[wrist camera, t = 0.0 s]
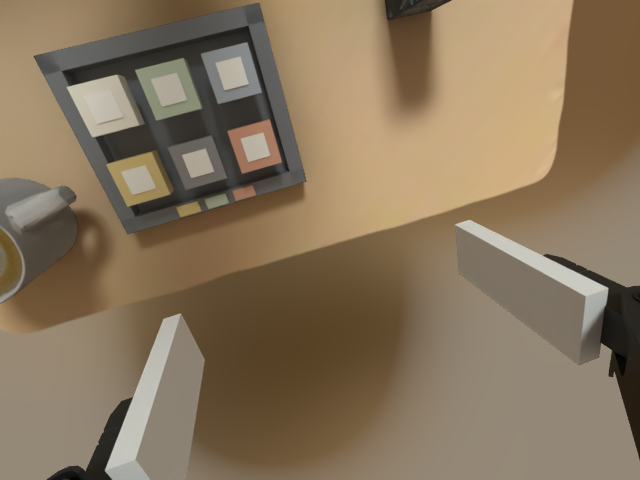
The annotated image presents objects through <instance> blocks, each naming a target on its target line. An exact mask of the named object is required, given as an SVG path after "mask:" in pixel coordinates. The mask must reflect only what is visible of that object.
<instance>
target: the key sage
mask: <svg viewBox="0 0 640 480" xmlns="http://www.w3.org/2000/svg"><path fill="white" fill-rule="evenodd" d="M135 71H136V74H137V76H138V79H139V81H140V83H141V86H142V88H143V90H144V93H145V95H146V97H147V100H148V102H149V104H150V107H151V109H152V112H153V114H154V116H155V119H156V120H163V119H166V118H170V117H174V116H178V115H182V114H185V113H189V112H193V111H197V110H200V109H204V107H203V104H202V101H201V99H200V96H199V93H198V90H197V88H196V85H195V82H194V79H193V76H192V74H191V71H190V68H189V65H188V63H187V61H186V60H185V59H184V58H182V59H178V60H174V61H170V62H166V63H162V64H158V65H153V66H149V67H145V68H141V69H137V70H135Z"/></svg>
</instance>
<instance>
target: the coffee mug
mask: <svg viewBox="0 0 640 480" xmlns="http://www.w3.org/2000/svg"><path fill="white" fill-rule="evenodd" d="M75 201H76V195H75V193H74V192H73V191H72V190H71V189H70V188H69V187H67V186H59V187H56V188H54V189H50V188H48V187H47V186H45V185H43V184H40V183H38V182H35V181H31V180H27V179H21V178H5V179H0V304H1V303H3V302H5V301H6V300H8V299H10V298H11V297H13V296H14V295H15V294H16V293H18V292H19V291H20V290H21V289H23V288H24V287H25V286H26V285H28V284H29V283H30V282H31V281H33V280H34V279H35V278H36V277H37V276H39V275H40V274H41V273H42V272H44V271H45V270H46V269H47V268H49V267H50V266H51V265H52V264H54V263H55V262H56V261H57V260H59V259H60V258H61V257H62V256H64V255H65V254H66V253H67V252H68V251H69V250H70V249H71V248H72V246H73V245H74V243H75V241H76V237H77V232H78V227H77V221H76V217H75V215H74V213H73V211H72V209H71V208H70V206H69V205H70V204H72V203H73V202H75Z"/></svg>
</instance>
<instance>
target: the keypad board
mask: <svg viewBox="0 0 640 480" xmlns="http://www.w3.org/2000/svg"><path fill="white" fill-rule="evenodd" d="M246 42H247V43H248V46H249V50H250V53H251V57H252V60H253V64H254V67H255V70H256V74H257V77H258V81H259V84H260V88H261V91H262V93H261V94H257V95H253V96H249V97H246V98H242V99H238V100H234V101H231V102H227V103H223V104H218V103H217V100H216V97H215V94H214V91H213V88H212V85H211V82H210V79H209V76H208V74H207V71H206V68H205V65H204V62H203V59H202V56H201V54H202V53H206V52H210V51H214V50H218V49H222V48H226V47H230V46H234V45H238V44H242V43H246ZM34 58H35V60H36V62H37V64H38V66H39V68H40V69H41V71H42V73H43V75H44V77H45V79H46V81H47V83H48V85H49V86H50V88H51V90H52V92H53V94H54V96H55V98H56V100H57V102H58V104H59V105H60V107H61V109H62V111H63V113H64V115H65V117H66V119H67V121H68V122H69V124H70V126H71V128H72V130H73V132H74V134H75V136H76V138H77V139H78V141H79V143H80V145H81V147H82V149H83V151H84V153H85V155H86V157H87V158H88V160H89V162H90V164H91V166H92V168H93V170H94V172H95V174H96V175H97V177H98V179H99V181H100V183H101V185H102V187H103V189H104V191H105V192H106V194H107V196H108V198H109V200H110V202H111V204H112V206H113V208H114V210H115V211H116V213H117V215H118V217H119V219H120V221H121V223H122V225H123V227H124V228H125V230H126V232H127V234H130V233H134V232H137V231H141V230H144V229H147V228H151V227H154V226H157V225H161V224H164V223H168V222H171V221H174V220H178V219H181V218H184V217H188V216H191V215H195V214H198V213H201V212H205V211H208V210H211V209H215V208H218V207H222V206H225V205H228V204H232V203H235V202H238V201H242V200H245V199H249V198H252V197H255V196H259V195H262V194H265V193H269V192H272V191H276V190H279V189H282V188H286V187H289V186H292V185H296V184H299V183H303V182H306V177H305V173H304V169H303V166H302V162H301V158H300V154H299V151H298V147H297V143H296V139H295V136H294V132H293V128H292V124H291V120H290V117H289V113H288V109H287V105H286V102H285V98H284V94H283V90H282V87H281V83H280V79H279V75H278V72H277V68H276V64H275V60H274V56H273V53H272V49H271V45H270V41H269V38H268V34H267V30H266V26H265V23H264V19H263V15H262V11H261V8H260V4H259V3H255V4H251V5H246V6H242V7H238V8H234V9H229V10H225V11H221V12H217V13H213V14H208V15H204V16H200V17H196V18H192V19H187V20H183V21H179V22H175V23H170V24H166V25H162V26H158V27H154V28H149V29H145V30H141V31H137V32H133V33H128V34H124V35H120V36H116V37H111V38H107V39H103V40H99V41H95V42H90V43H86V44H82V45H78V46H73V47H69V48H65V49H61V50H57V51H52V52H48V53H44V54H40V55H36V56H34ZM182 58H184V59H185V60H186V61H187V63H188V65H189V68H190V71H191V74H192V76H193V79H194V82H195V85H196V88H197V90H198V93H199V96H200V99H201V101H202V104H203V107H204V109H200V110H197V111H193V112H189V113H185V114H182V115H178V116H174V117H170V118H166V119H163V120H156V119H155V116H154V114H153V112H152V109H151V107H150V104H149V102H148V100H147V97H146V95H145V93H144V90H143V88H142V86H141V83H140V81H139V79H138V76H137V74H136V71H135V70H137V69H141V68H145V67H149V66H153V65H158V64H162V63H166V62H170V61H174V60H178V59H182ZM113 75H120V76H124V77H125V79H126V81H127V84H128V86H129V88H130V91H131V93H132V95H133V97H134V100H135V102H136V104H137V107H138V109H139V111H140V113H141V116H142V118H143V120H144V123H145V124H144V125H140V126H136V127H133V128H129V129H125V130H121V131H117V132H114V133H110V134H106V135H102V136H98V137H92V136H91V134H90V132H89V130H88V128H87V126H86V124H85V122H84V120H83V118H82V116H81V115H80V113H79V111H78V109H77V107H76V105H75V103H74V101H73V99H72V97H71V95H70V93H69V91H68V89H67V87H69V86H73V85H77V84H81V83H85V82H89V81H93V80H97V79H101V78H105V77H109V76H113ZM268 119H269V120H270V122H271V126H272V129H273V133H274V136H275V139H276V143H277V146H278V150H279V153H280V157H281V160H282V162H281V163H278V164H274V165H271V166H267V167H264V168H260V169H257V170H254V171H250V172H247V173H243V174H242V172H241V169H240V166H239V164H238V161H237V158H236V155H235V152H234V149H233V146H232V143H231V140H230V137H229V135H228V132H227V131H228V130H231V129H235V128H238V127H242V126H246V125H249V124H253V123H257V122H260V121H264V120H268ZM213 134H214V137H215V140H216V143H217V146H218V148H219V151H220V154H221V157H222V159H223V162H224V165H225V168H226V170H227V173H228V177H227V178H226V179H222V180H219V181H215V182H212V183H208V184H205V185H201V186H198V187H195V188H191V189H188V190H186V189H185V187H184V185H183V182H182V180H181V178H180V175H179V173H178V171H177V168H176V166H175V163H174V161H173V159H172V156H171V154H170V152H169V149H168V147H170V146H173V145H176V144H180V143H184V142H187V141H191V140H195V139H198V138H202V137H206V136H209V135H213ZM154 150H157V152H158V154H159V157H160V159H161V161H162V164H163V166H164V168H165V170H166V173H167V175H168V177H169V180H170V182H171V184H172V186H173V189H174V191H173V192H172V193H171V194H170V195H167V196H163V197H160V198H156V199H153V200H149V201H146V202H142V203H139V204H136V205H132V206H129V207H127V205H126V203H125V201H124V199H123V197H122V195H121V193H120V191H119V189H118V187H117V185H116V183H115V181H114V179H113V177H112V175H111V173H110V171H109V169H108V168H107V166H106V164H109V163H111V162H114V161H118V160H122V159H125V158H129V157H132V156H136V155H140V154H143V153H147V152H151V151H154Z"/></svg>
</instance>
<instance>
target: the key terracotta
mask: <svg viewBox="0 0 640 480" xmlns="http://www.w3.org/2000/svg"><path fill="white" fill-rule="evenodd" d="M227 132H228V135H229V137H230V140H231V143H232V146H233V149H234V152H235V155H236V158H237V161H238V164H239V166H240V169H241V172H242V174H243V173H247V172H250V171H254V170H257V169H260V168H264V167H267V166H271V165H274V164H278V163H281V162H282V160H281V157H280V153H279V150H278V146H277V143H276V139H275V136H274V133H273V129H272V126H271V122H270V120H269V119H268V120H264V121H260V122H257V123H253V124H249V125H246V126H242V127H238V128H235V129H231V130H228V131H227Z"/></svg>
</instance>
